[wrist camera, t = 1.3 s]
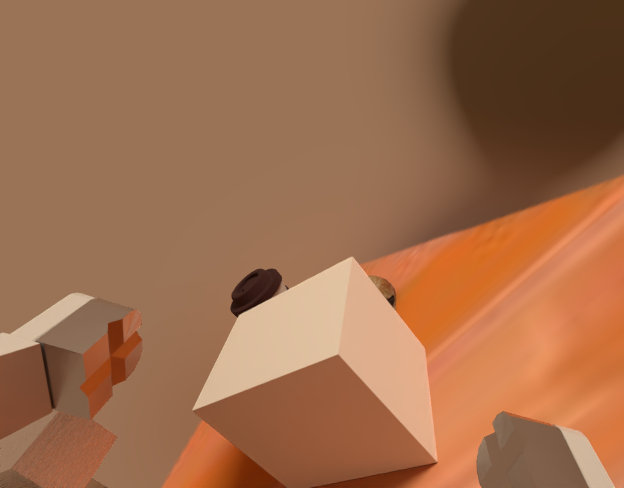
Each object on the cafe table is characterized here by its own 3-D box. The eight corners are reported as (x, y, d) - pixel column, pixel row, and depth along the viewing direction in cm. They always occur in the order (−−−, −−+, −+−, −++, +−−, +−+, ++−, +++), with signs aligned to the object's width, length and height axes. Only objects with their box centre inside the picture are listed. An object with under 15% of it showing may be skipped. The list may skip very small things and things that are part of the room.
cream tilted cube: (424, 347, 46) (352, 256, 40) (437, 462, 34) (338, 354, 29) (312, 387, 54) (239, 315, 48) (291, 491, 42) (191, 410, 37)
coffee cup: (327, 311, 67) (275, 253, 62) (322, 351, 59) (262, 287, 54) (286, 332, 71) (234, 278, 66) (275, 373, 63) (215, 314, 58)
